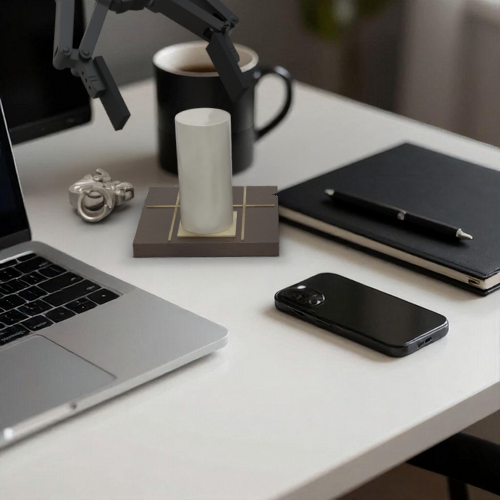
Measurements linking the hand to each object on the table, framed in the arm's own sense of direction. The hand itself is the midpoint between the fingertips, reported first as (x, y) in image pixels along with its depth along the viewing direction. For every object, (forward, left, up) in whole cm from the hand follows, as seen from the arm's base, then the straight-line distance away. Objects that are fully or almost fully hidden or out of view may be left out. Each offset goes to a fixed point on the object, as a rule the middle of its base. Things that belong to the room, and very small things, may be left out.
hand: (184, 108), depth 89 cm
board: (-2, 0, -13) cm, 13 cm away
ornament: (+10, -5, -13) cm, 17 cm away
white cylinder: (-2, +2, -11) cm, 11 cm away
